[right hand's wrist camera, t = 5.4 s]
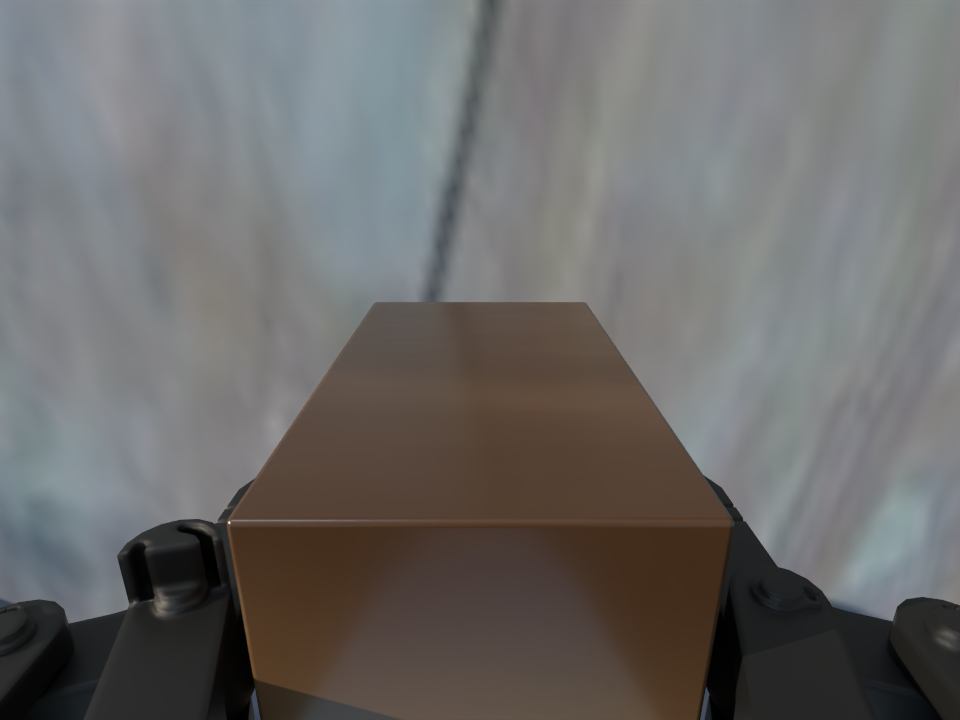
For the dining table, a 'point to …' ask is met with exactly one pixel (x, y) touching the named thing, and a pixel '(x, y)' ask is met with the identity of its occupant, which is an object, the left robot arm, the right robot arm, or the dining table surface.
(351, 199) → the dining table surface
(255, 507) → the bar
